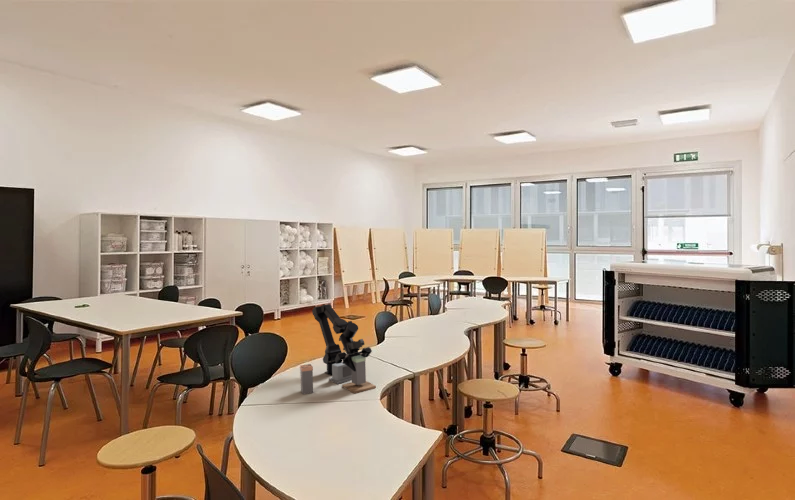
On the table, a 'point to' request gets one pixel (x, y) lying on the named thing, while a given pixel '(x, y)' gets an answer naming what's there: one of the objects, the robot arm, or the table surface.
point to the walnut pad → (358, 387)
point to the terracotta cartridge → (306, 378)
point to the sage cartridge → (359, 370)
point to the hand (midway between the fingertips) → (359, 370)
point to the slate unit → (341, 373)
